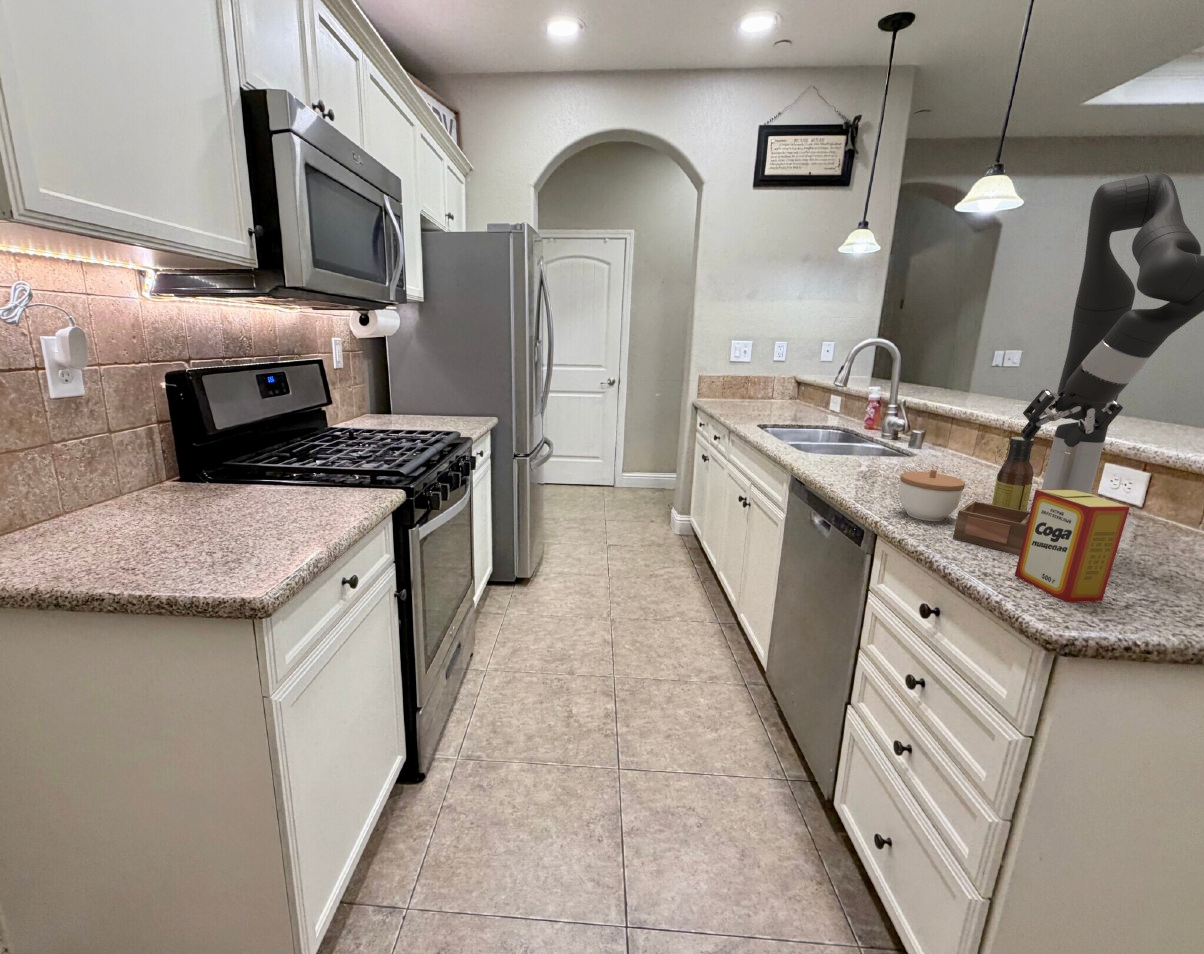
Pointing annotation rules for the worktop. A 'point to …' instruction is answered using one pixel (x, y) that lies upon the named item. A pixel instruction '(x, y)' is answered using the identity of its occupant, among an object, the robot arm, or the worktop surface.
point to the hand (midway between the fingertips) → (1046, 441)
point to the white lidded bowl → (929, 494)
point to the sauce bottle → (1015, 476)
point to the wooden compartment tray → (992, 526)
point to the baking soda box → (1071, 544)
